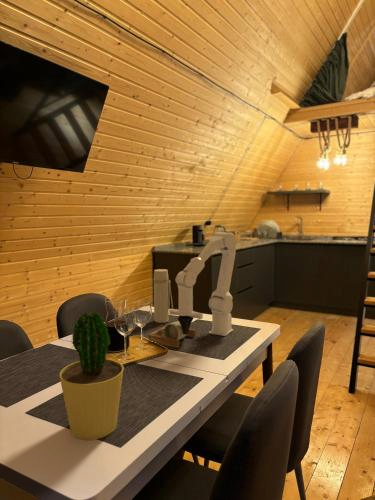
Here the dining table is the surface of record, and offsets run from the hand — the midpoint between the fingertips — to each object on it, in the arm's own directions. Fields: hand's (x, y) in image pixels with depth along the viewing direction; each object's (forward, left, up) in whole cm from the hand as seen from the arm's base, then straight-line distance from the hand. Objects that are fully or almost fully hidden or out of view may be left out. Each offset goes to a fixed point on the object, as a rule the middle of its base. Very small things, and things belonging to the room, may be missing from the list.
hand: (185, 333), depth 157 cm
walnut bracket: (0, -6, -3) cm, 7 cm away
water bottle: (-19, -23, -4) cm, 31 cm away
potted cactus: (+65, +10, -4) cm, 65 cm away
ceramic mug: (0, -6, -4) cm, 7 cm away
